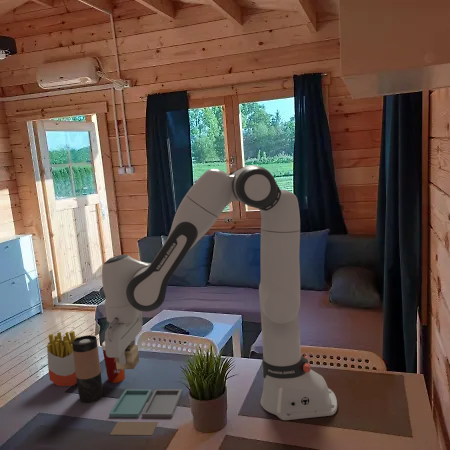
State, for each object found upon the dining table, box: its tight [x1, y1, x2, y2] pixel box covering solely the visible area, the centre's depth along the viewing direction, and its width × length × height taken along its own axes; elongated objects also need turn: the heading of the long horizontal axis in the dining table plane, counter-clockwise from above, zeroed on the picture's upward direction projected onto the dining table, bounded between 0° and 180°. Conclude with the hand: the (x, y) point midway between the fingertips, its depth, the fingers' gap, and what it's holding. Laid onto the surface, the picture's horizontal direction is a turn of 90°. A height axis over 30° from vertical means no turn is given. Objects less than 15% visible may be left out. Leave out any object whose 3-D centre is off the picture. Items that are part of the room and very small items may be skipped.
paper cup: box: [101, 340, 126, 384], centre depth 154 cm, size 8×8×14 cm
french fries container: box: [46, 330, 79, 387], centre depth 154 cm, size 5×11×18 cm, turn 88°
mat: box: [109, 421, 159, 437], centre depth 125 cm, size 12×6×1 cm, turn 83°
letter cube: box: [115, 344, 140, 370], centre depth 128 cm, size 5×5×5 cm
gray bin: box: [141, 388, 183, 419], centre depth 136 cm, size 9×14×2 cm, turn 173°
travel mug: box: [72, 334, 104, 404], centre depth 142 cm, size 8×8×20 cm
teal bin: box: [108, 388, 153, 418], centre depth 137 cm, size 9×14×2 cm, turn 173°
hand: (127, 358), depth 128 cm, fingers closed on letter cube, 5 cm apart
